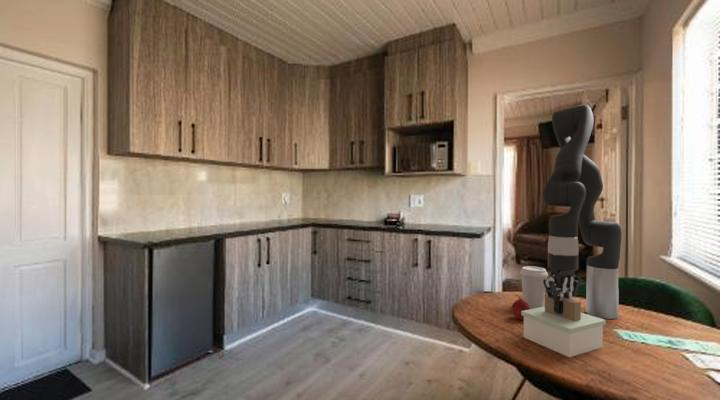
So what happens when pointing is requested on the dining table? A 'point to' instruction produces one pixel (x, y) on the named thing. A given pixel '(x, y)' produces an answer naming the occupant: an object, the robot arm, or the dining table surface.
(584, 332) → the box
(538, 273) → the coffee cup
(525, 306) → the onion
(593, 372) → the dining table surface
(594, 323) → the lid
